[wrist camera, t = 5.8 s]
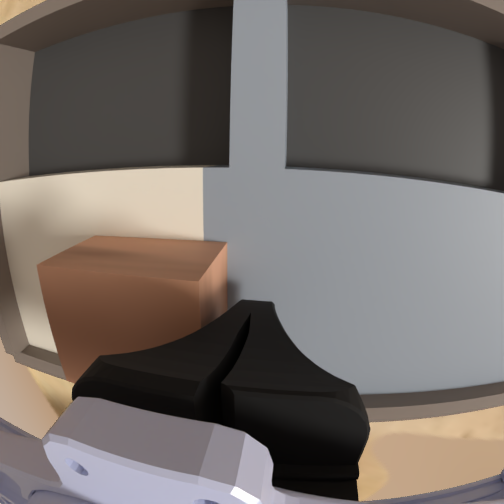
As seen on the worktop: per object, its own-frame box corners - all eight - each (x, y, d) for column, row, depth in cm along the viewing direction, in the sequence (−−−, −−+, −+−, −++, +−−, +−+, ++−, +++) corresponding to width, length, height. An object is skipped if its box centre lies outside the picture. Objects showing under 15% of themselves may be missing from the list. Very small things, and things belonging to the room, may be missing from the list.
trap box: (485, 365, 16) (515, 408, 12) (48, 333, 19) (11, 365, 15) (525, 47, 10) (571, 31, 6) (29, 43, 13) (-19, 32, 9)
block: (227, 351, 14) (206, 413, 10) (109, 334, 15) (66, 380, 11) (227, 242, 12) (198, 281, 9) (95, 235, 13) (36, 264, 9)
